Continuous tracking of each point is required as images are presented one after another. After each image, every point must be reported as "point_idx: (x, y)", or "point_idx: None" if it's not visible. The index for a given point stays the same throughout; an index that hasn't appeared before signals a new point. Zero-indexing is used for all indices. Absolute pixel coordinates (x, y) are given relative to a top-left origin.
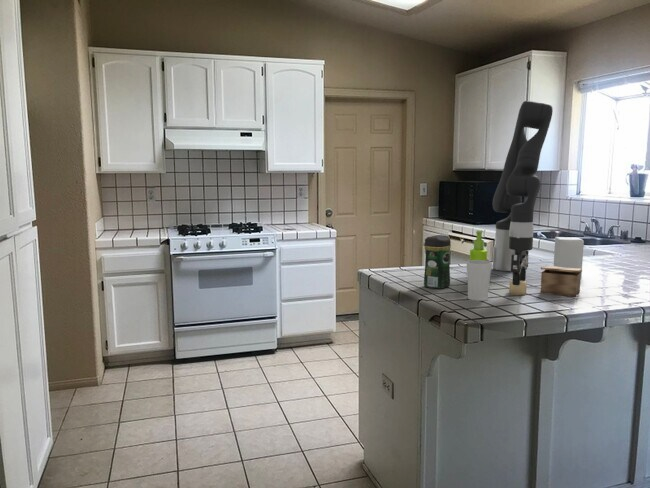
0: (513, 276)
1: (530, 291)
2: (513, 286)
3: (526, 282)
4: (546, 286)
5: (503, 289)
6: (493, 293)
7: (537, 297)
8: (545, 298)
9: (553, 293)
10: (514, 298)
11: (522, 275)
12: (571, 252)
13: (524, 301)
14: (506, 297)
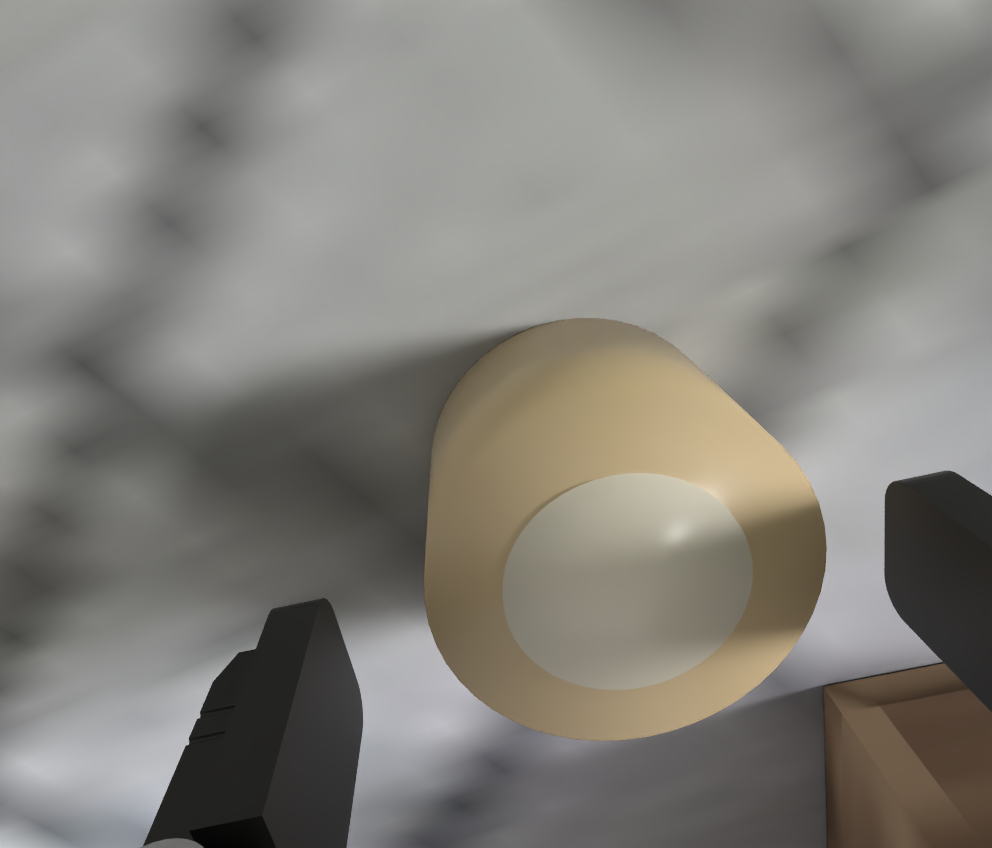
0: (161, 808)
1: (845, 551)
2: (427, 522)
3: (648, 735)
4: (885, 841)
5: (729, 111)
6: (197, 136)
7: (490, 768)
8: (507, 845)
9: (832, 829)
10: (152, 596)
11: (981, 631)
12: None
13: (102, 760)
14: (102, 480)
